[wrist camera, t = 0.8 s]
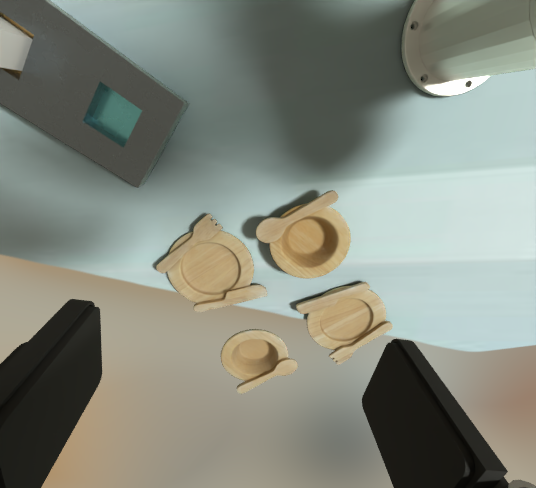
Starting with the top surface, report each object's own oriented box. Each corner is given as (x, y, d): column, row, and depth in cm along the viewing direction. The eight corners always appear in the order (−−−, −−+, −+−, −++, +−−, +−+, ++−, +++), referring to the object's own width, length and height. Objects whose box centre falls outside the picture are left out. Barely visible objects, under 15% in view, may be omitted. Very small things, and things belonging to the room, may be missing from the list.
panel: (-25, -55, 29) (-50, -70, 26) (189, 103, 35) (184, 103, 33) (-54, 60, 32) (-77, 56, 30) (144, 183, 39) (137, 188, 37)
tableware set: (394, 334, 52) (404, 351, 49) (249, 388, 57) (249, 407, 53) (326, 153, 39) (333, 158, 35) (142, 242, 43) (132, 254, 39)
